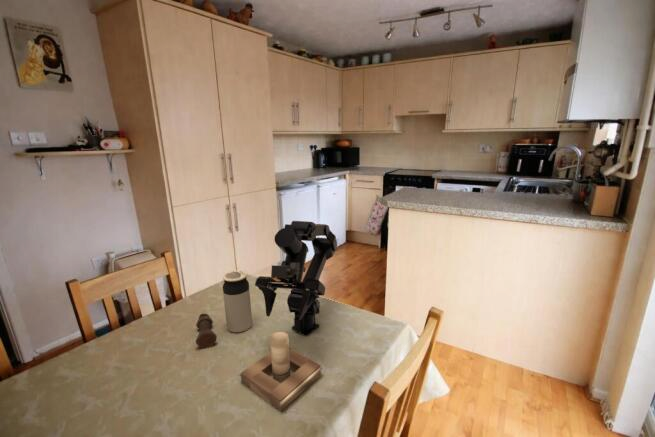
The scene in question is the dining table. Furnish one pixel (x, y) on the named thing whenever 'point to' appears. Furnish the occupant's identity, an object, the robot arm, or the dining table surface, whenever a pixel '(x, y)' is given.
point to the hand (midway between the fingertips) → (283, 317)
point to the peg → (280, 356)
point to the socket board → (288, 389)
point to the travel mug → (237, 301)
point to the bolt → (205, 332)
